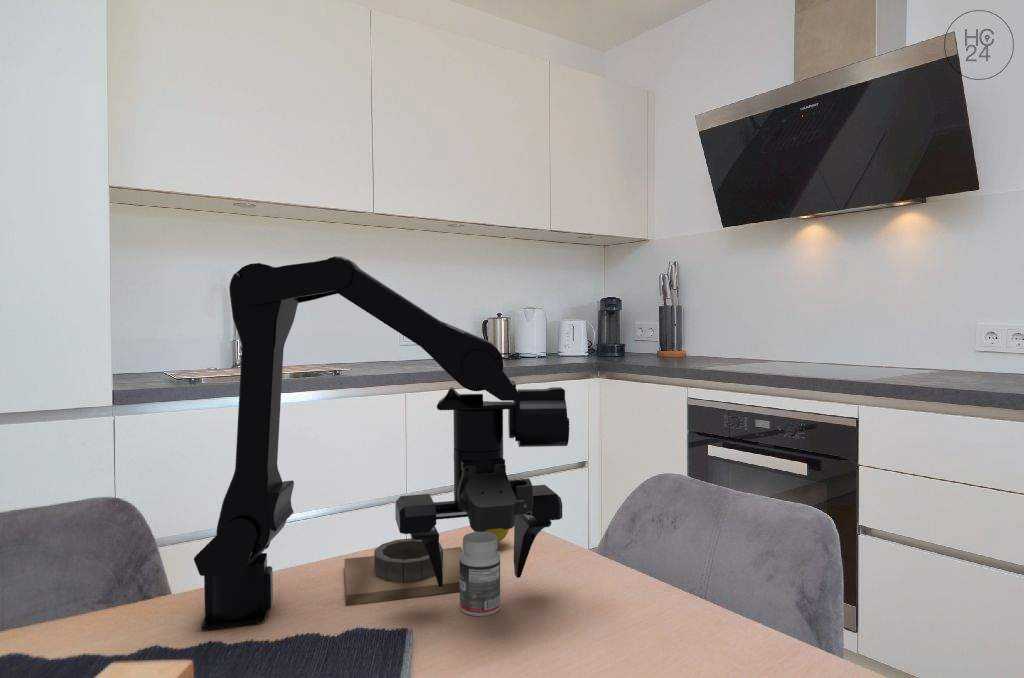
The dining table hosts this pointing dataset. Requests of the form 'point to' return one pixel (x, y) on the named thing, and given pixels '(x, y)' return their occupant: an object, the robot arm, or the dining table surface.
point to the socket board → (392, 590)
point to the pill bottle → (480, 574)
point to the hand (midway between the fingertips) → (479, 581)
